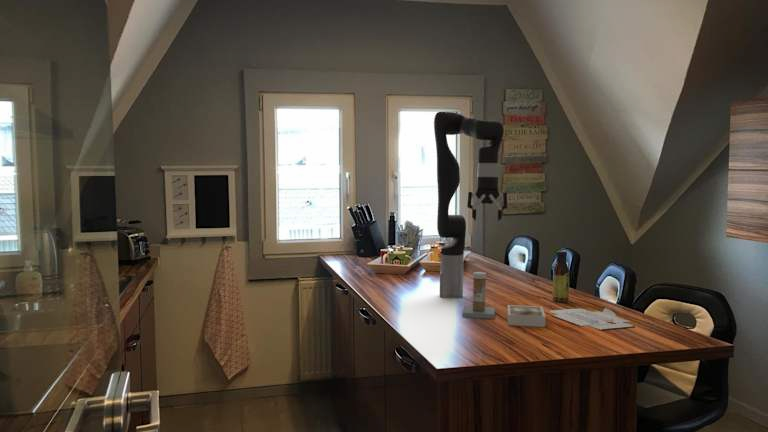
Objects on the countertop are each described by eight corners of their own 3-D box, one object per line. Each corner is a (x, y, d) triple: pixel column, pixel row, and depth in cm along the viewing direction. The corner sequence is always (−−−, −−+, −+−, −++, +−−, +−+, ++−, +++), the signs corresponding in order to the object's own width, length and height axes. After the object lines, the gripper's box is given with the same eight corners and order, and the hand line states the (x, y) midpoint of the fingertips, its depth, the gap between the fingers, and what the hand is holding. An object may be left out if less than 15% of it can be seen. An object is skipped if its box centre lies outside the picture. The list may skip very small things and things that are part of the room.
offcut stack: (510, 325, 201) (510, 310, 201) (510, 321, 206) (510, 307, 206) (538, 326, 200) (538, 312, 199) (537, 323, 205) (537, 308, 204)
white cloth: (592, 333, 194) (592, 321, 194) (541, 316, 220) (541, 306, 220) (643, 328, 201) (643, 317, 201) (587, 313, 227) (587, 303, 227)
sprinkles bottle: (470, 309, 216) (470, 272, 215) (476, 307, 219) (477, 271, 218) (481, 311, 213) (482, 274, 212) (487, 309, 216) (488, 272, 215)
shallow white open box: (507, 324, 201) (508, 314, 201) (507, 314, 215) (507, 304, 215) (545, 327, 199) (545, 316, 198) (541, 316, 213) (542, 306, 213)
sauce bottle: (569, 303, 236) (571, 252, 234) (552, 302, 237) (554, 252, 236) (567, 299, 242) (569, 250, 241) (551, 298, 243) (553, 249, 242)
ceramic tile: (462, 316, 211) (462, 312, 211) (464, 309, 222) (464, 305, 222) (494, 318, 209) (494, 314, 209) (494, 311, 220) (494, 307, 220)
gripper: (467, 175, 217) (466, 220, 219) (508, 176, 215) (506, 221, 216) (468, 175, 225) (467, 219, 226) (507, 176, 222) (506, 220, 223)
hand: (486, 220), depth 221 cm, fingers open, 8 cm apart
